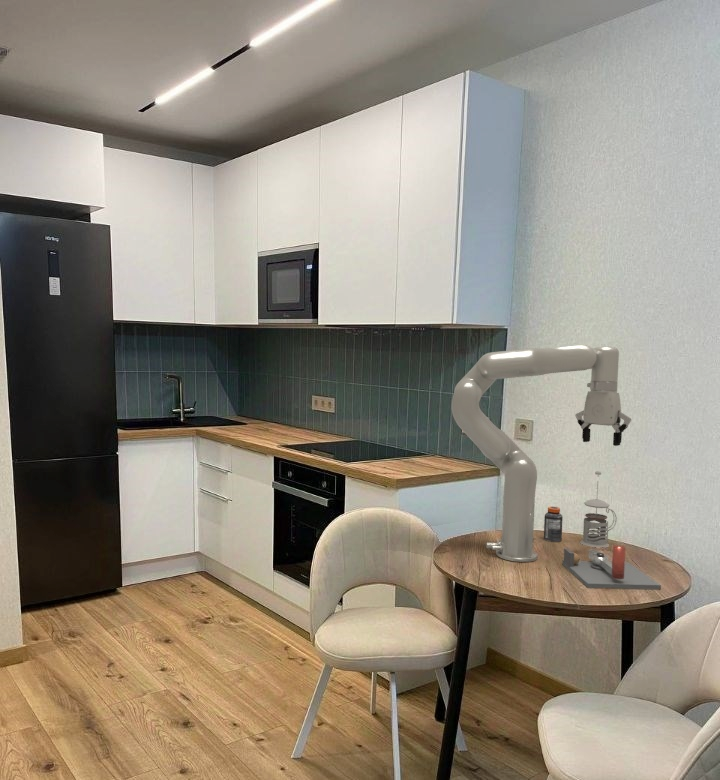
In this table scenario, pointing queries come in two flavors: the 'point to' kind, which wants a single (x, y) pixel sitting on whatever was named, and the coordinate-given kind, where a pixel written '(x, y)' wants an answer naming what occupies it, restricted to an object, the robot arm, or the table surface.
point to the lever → (613, 568)
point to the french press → (596, 524)
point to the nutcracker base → (606, 574)
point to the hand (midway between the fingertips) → (601, 443)
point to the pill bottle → (553, 525)
